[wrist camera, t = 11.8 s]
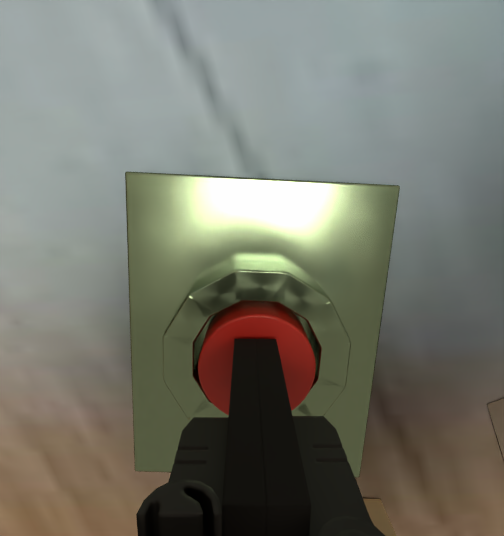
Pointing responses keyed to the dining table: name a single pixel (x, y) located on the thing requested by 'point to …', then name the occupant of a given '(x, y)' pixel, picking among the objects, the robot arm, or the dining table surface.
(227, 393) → the button
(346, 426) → the button housing
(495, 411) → the platform
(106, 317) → the dining table surface
